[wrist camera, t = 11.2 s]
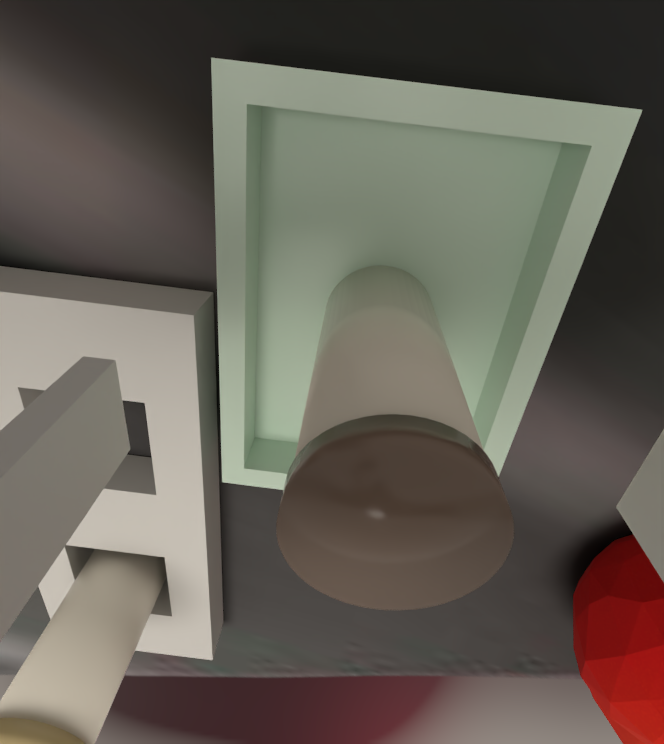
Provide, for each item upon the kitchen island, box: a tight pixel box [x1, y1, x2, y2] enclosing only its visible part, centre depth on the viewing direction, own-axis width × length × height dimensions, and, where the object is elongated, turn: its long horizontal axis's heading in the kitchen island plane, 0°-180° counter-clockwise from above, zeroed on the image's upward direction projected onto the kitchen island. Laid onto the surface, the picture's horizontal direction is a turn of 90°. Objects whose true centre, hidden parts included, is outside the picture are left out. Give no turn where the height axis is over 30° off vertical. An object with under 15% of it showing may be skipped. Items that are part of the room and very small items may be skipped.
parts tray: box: [211, 58, 642, 490], centre depth 18 cm, size 16×12×3 cm
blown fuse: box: [276, 265, 514, 610], centre depth 14 cm, size 5×5×11 cm
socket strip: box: [0, 266, 223, 744], centre depth 20 cm, size 24×10×11 cm, turn 174°
